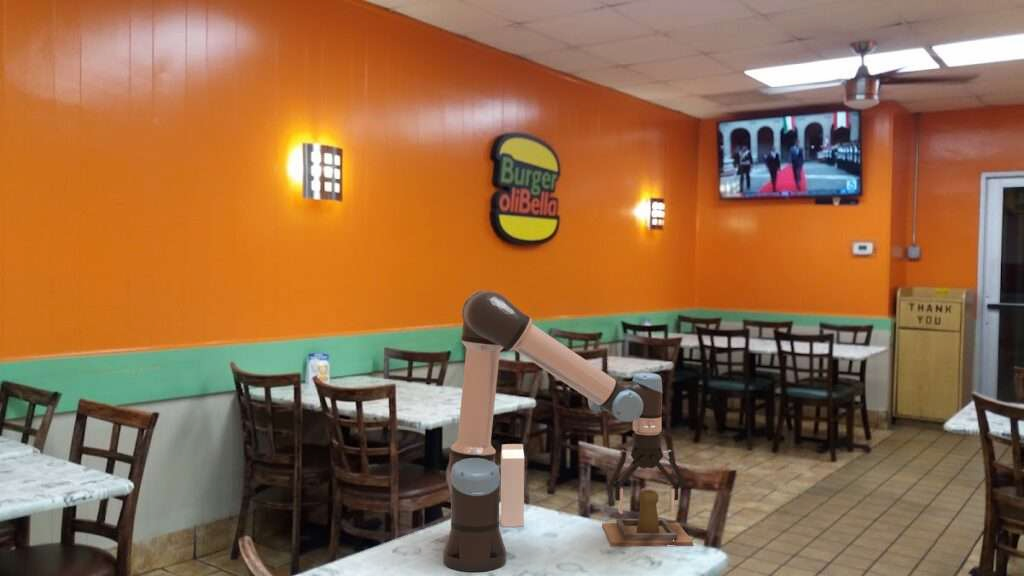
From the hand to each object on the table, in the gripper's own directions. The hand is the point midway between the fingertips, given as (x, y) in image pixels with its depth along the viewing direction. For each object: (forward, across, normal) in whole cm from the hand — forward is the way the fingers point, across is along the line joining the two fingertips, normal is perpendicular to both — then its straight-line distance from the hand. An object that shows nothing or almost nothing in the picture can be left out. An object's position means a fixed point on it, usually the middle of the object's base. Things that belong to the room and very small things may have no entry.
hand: (646, 512), depth 217 cm
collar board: (+6, 0, 0) cm, 6 cm away
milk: (+6, -35, +11) cm, 37 cm away
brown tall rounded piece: (+5, 0, 0) cm, 5 cm away
